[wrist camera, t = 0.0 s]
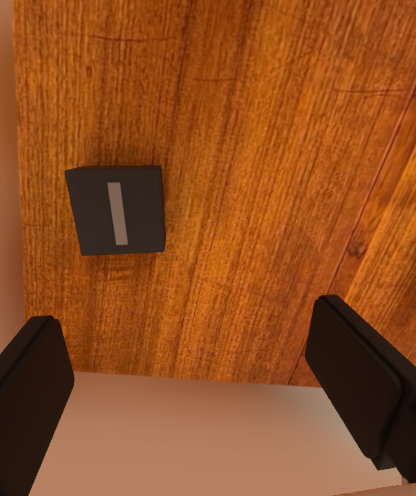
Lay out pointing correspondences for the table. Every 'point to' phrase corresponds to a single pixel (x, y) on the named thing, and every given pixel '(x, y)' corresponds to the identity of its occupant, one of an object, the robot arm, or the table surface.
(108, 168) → the pad
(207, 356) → the table surface
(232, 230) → the table surface
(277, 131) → the table surface
